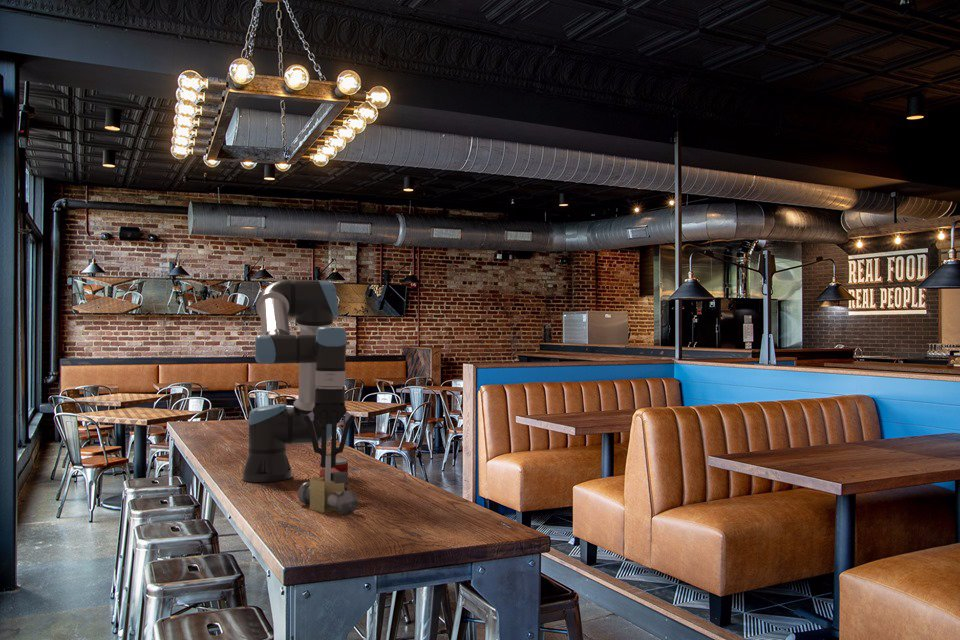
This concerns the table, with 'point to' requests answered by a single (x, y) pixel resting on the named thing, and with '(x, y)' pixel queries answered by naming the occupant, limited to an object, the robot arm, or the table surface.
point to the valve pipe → (327, 496)
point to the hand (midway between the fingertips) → (327, 480)
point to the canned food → (341, 468)
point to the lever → (335, 475)
